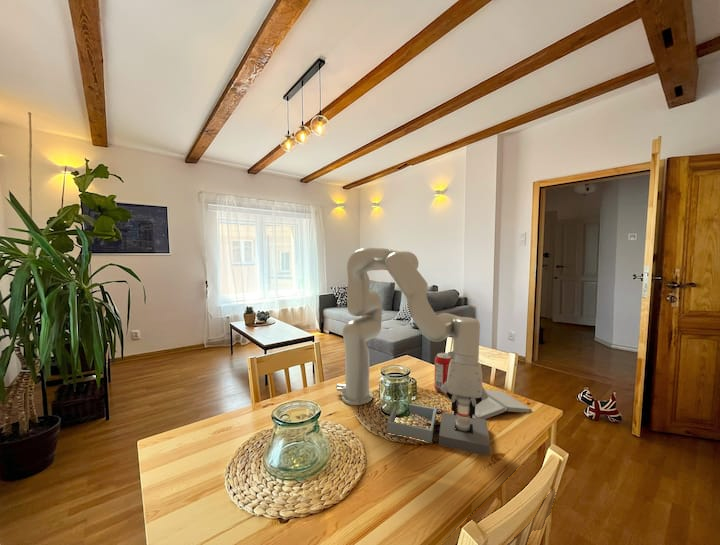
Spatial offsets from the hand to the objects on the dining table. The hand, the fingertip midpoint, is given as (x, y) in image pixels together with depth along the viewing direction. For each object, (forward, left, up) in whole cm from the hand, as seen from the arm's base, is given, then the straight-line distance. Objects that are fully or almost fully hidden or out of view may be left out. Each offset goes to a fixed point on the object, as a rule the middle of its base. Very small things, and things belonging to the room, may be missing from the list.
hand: (463, 414), depth 93 cm
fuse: (0, 0, -4) cm, 4 cm away
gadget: (+10, +24, -8) cm, 27 cm away
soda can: (-8, +31, -8) cm, 33 cm away
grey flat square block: (0, 0, -7) cm, 7 cm away
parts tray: (-16, 0, -7) cm, 17 cm away
